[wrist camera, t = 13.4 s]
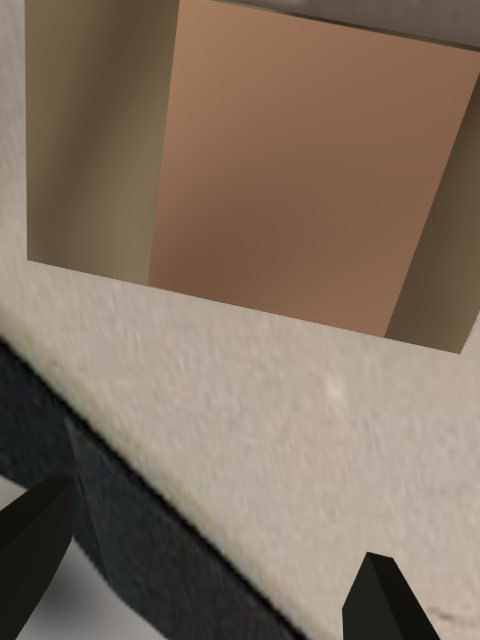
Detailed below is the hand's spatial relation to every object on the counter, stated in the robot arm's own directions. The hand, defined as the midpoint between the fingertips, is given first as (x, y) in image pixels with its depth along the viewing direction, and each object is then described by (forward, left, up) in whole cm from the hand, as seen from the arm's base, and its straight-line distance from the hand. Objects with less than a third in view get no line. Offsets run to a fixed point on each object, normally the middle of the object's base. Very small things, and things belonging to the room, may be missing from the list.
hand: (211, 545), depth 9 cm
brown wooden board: (+1, -8, -10) cm, 13 cm away
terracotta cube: (0, -8, -4) cm, 10 cm away
